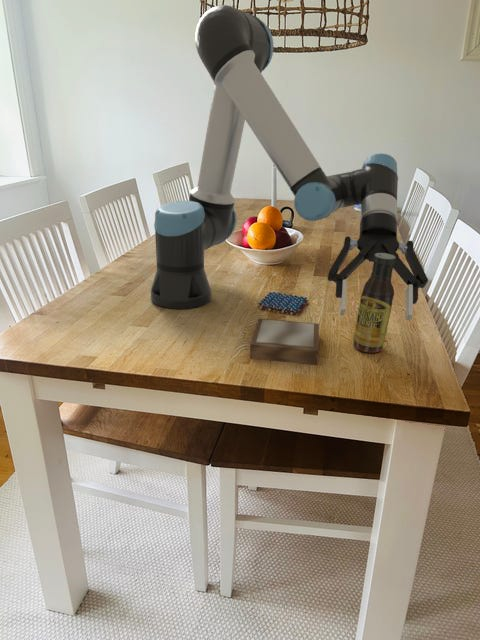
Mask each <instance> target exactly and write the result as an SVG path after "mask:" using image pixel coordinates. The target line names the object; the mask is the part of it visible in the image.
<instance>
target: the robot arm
mask: <svg viewBox="0 0 480 640" xmlns="http://www.w3.org/2000/svg"><path fill="white" fill-rule="evenodd" d="M266 24H267V23H265V22H264V21H262V20H261V19H260V18H259V17H257V16H256V15H253V14H251V13H248V12H245V11H242V10H240V9H238V8H236V7H234V6H231V5H226V4H221V5H220V4H219V5H216V6H215V5H214V6H213V7H211V8H209V9H208V10H206V11H205V12H204V13H203V14H202V16H200V18H199V21H198V22H197V25H196V29H195V34H194V40H195V41H194V42H195V43H194V44H195V47H196V48H195V49H196V51H197V54H198V56H199V58H200V60H201V63H202V64H203V66H204V68H205V69H206V71H207V72H208V74H209V77H210V78H211V80H212V81H213V84H214V85H213V92H212V97H211V103H210V110H209V115H208V123H207V128H206V134H205V140H204V145H203V151H202V159H201V164H200V169H199V175H198V180H197V185H196V187H194V188H192V189H190V192H189V198H188V200H177V201H174V202H173V201H170V202H166V203H164V204H162V205H160V206H159V207H158V208H157V209H156V210H155V213H154V225H153V227H154V233H155V254H156V255H155V256H156V260H155V261H156V271H155V274H154V277H153V281H152V284H151V288H150V300H151V302H152V303H153V304H155V305H156V306H160V307H162V308H167V309H173V310H174V309H175V310H178V309H179V310H183V309H184V310H185V309H193V308H197V307H201V306H204V305H207V304H208V303H210V301H211V300H212V289H211V286H210V283H209V279H208V277H207V274H206V271H205V251H206V250H208V249H209V248H212V247H215V246H217V245H220V244H222V243H224V242H225V241H227V239H229V238H230V237H231V235H233V233H234V232H235V229H236V226H237V222H238V221H237V220H238V219H237V212H236V211H235V207H234V206H235V201H236V199H235V198H234V195H232V193H231V192H232V191H231V190H232V187H233V181H234V177H235V172H236V168H237V167H236V166H237V162H238V157H239V152H240V151H239V150H240V147H241V142H242V138H243V133H244V127H245V123H247V125H248V127H249V129H251V131H252V132H253V134H254V136H255V137H256V139H257V140H258V141H259V143H260V145H261V146H262V148H263V150H264V151H265V153H266V154H267V156H268V157H269V159H270V160H271V162H272V163H273V165H274V166H275V168H276V170H277V171H278V173H279V174H280V176H281V177H282V179H283V180H284V182H285V183H286V185H287V187H288V188H289V189H290V191H291V192H292V194H293V196H294V200H293V202H294V203H293V205H294V208H295V211H296V213H297V215H298V216H299V217H300V218H302V219H304V221H305V220H306V221H309V222H316V221H321V220H323V219H326V218H328V217H330V216H331V214H334V212H337V211H338V210H339V209H343V208H348V207H353V206H354V207H355V205H360V204H361V212H360V219H359V220H360V222H359V238H358V239H352V238H351V237H350V236H345V237H344V241H343V245H342V248H341V249H340V252H339V253H338V255H337V257H336V259H335V260H334V262H333V263H332V265H331V267H330V269H329V270H328V273H327V280H328V281H330V282H334V283H335V298H336V299H340V304H339V305H340V308H339V316H344V315H345V312H346V304H347V302H346V301H347V283H348V280H347V279H348V278H349V277H350V276H351V274H352V273H354V271H355V270H356V269H358V267H359V266H361V264H363V263H364V262H365V261H366V260H367V261H368V262H369V263H370V262H372V263H374V262H373V259H374V255H375V254H376V253H387V254H391V255H394V256H395V257H396V260H395V264H394V266H393V270H394V271H395V272H396V274H398V276H399V277H400V278H401V279H402V281H403V282H404V283H405V284H406V286H407V287H406V289H405V321H411V319H412V317H413V316H414V311H413V310H414V306H413V305H416V304H417V302H418V301H419V289H420V288H421V289H424V288H425V287H426V285H427V283H428V282H429V278H428V277H427V275H426V273H425V271H424V269H423V267H422V264H421V262H420V261H419V257H418V256H417V254H416V252H415V249H414V242H413V240H407V242H400V241H399V240H398V222H397V219H398V182H399V176H398V164H397V163H398V162H397V160H396V159H395V157H393V156H392V155H391V154H387V153H381V152H380V153H375V154H371V155H370V156H369V157H367V158H366V159H365V160H364V161H363V162H362V163H363V164H362V167H361V168H359V169H355V170H352V171H348V172H343V173H336V174H333V175H326V173H325V171H323V169H322V167H321V166H320V163H319V162H318V161H317V159H316V158H315V155H314V154H313V152H312V151H311V149H310V148H309V146H308V144H307V143H306V142H305V140H304V138H303V137H302V136H301V134H300V133H299V130H298V129H297V127H296V126H295V125H294V122H293V121H292V120H291V118H290V116H289V115H288V113H287V112H286V110H285V109H284V107H283V105H282V104H281V102H280V101H279V99H278V98H277V96H276V94H275V93H274V91H273V90H272V88H271V87H270V85H269V84H268V81H267V80H266V78H265V77H264V75H263V74H262V72H263V71H264V70H266V68H267V67H268V66H269V64H270V62H271V60H272V58H273V53H274V49H275V48H274V47H275V46H274V39H273V35H272V32H271V30H270V28H269V27H268V26H267V25H266ZM355 247H356V248H357V250H358V251H359V252H358V253H357V255H356V256H355V257H354V258H353V259H352V260H351V261H350V262H349V263H348V264H347V265H346V266H345V267H344V268H343V269H342V270H341V271H340V269H341V267H342V265H343V264H344V262H345V260H346V258H347V256H348V255H349V251H352V250H354V248H355ZM398 250H400V251H401V253H402V255H404V257H405V261H406V263H407V264H408V266H409V268H410V269H409V268H408V266H407V265H406V264H405V263H404V261H402V259H401V258H400V256H399V254H398V253H397V251H398ZM339 271H340V272H339ZM338 272H339V273H338Z"/></svg>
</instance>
